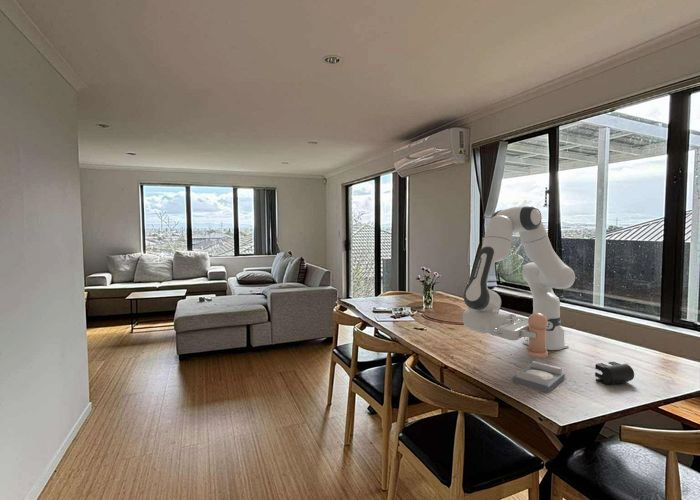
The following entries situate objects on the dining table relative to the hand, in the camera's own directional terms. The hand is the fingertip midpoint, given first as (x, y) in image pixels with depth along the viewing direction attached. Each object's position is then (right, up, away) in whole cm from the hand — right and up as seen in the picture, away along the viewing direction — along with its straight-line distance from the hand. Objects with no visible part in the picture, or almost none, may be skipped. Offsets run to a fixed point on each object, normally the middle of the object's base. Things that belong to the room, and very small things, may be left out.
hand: (540, 333), depth 134 cm
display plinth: (0, -18, +1) cm, 18 cm away
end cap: (+26, -18, -1) cm, 31 cm away
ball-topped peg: (-1, -8, +1) cm, 8 cm away
